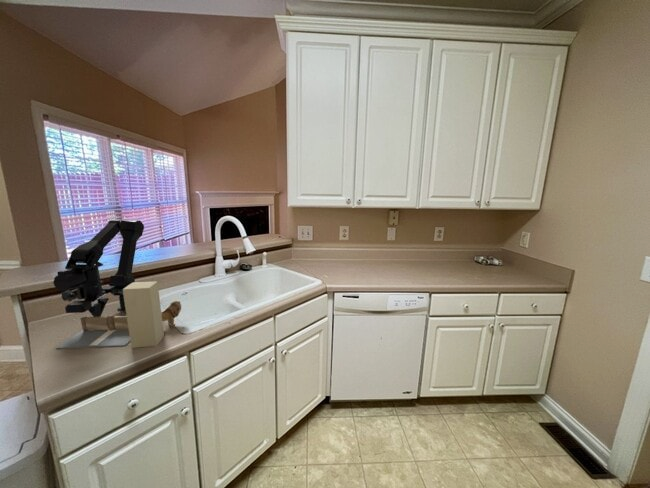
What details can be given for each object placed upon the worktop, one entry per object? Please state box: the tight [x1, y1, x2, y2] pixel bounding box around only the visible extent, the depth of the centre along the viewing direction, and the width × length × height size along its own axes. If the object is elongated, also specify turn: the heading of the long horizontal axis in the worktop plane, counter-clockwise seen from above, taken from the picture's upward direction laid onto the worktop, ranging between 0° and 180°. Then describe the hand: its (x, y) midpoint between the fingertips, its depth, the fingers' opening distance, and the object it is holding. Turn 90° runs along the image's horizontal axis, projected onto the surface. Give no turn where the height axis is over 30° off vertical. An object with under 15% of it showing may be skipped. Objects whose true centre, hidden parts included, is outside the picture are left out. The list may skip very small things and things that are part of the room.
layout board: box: [56, 329, 131, 350], centre depth 99 cm, size 18×22×1 cm
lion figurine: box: [161, 300, 182, 327], centre depth 102 cm, size 15×5×9 cm, turn 138°
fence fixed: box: [107, 314, 129, 331], centre depth 100 cm, size 2×11×6 cm, turn 95°
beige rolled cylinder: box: [80, 315, 109, 331], centre depth 99 cm, size 2×9×5 cm, turn 95°
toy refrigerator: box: [123, 280, 165, 349], centre depth 92 cm, size 8×7×21 cm
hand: (97, 319), depth 103 cm, fingers closed
